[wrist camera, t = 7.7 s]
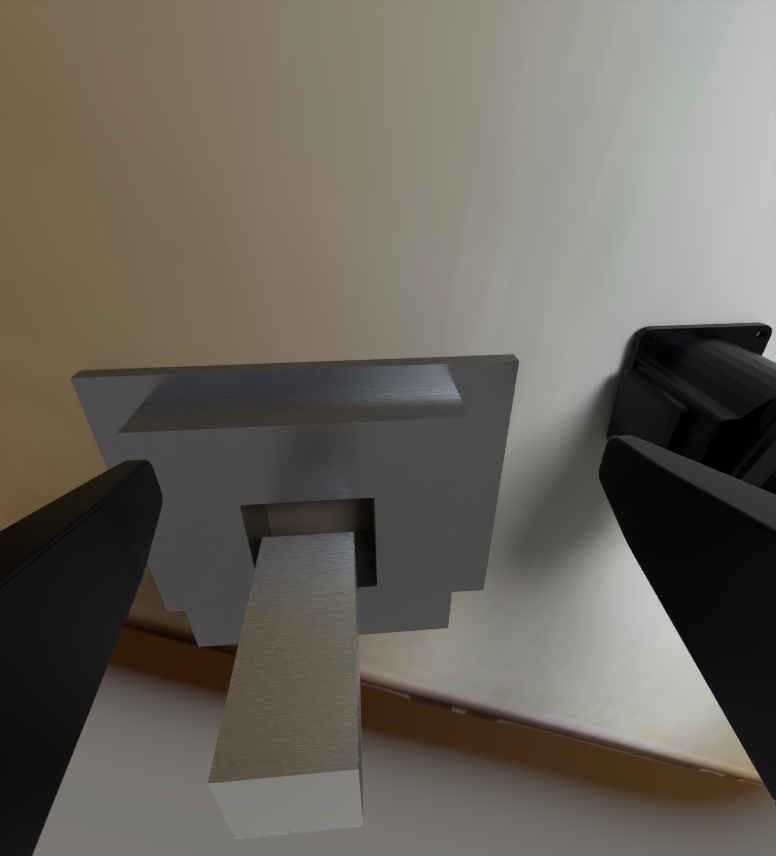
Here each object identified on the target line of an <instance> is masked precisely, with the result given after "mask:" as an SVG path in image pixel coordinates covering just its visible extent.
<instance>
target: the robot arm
mask: <svg viewBox="0 0 776 856" xmlns="http://www.w3.org/2000/svg"><path fill="white" fill-rule="evenodd" d="M759 332H760V333H759ZM758 333H759V334H758ZM757 334H758V335H757ZM771 334H772V328H771V327H770V326H768V325H766V324H763V323H733V324H703V325H674V326H648V327H644V328H642V329H641V330H640V331H639V332H638V333H637V335H636V337H635V340H634V344H633V347H632V350H631V354H630V357H629V361H628V364H627V368H626V371H625V372H624V374H623V377H622V380H621V384H620V387H619V391H618V394H617V398H616V401H615V404H614V408H613V411H612V419H611V422H610V425H609V429H608V432H607V439H608V442H607V444H606V448H605V451H604V454H603V458H602V461H601V464H600V468H599V479H600V482H601V484H602V487H603V489H604V491H605V494H606V496H607V498H608V501H609V503H610V505H611V508H612V510H613V512H614V514H615V517H616V519H617V521H618V524H619V526H620V528H621V531H622V533H623V535H624V537H625V539H626V541H627V543H628V545H629V547H630V549H631V551H632V553H633V555H634V556H635V558H636V560H637V562H638V564H639V565H640V567H641V569H642V571H643V572H644V574H645V576H646V578H647V579H648V581H649V583H650V585H651V586H652V588H653V590H654V592H655V593H656V595H657V597H658V599H659V600H660V602H661V604H662V606H663V607H664V609H665V611H666V613H667V614H668V616H669V618H670V620H671V621H672V623H673V625H674V627H675V628H676V630H677V632H678V634H679V635H680V637H681V639H682V641H683V642H684V644H685V646H686V648H687V649H688V651H689V653H690V655H691V656H692V658H693V660H694V662H695V663H696V665H697V667H698V669H699V670H700V672H701V674H702V676H703V678H704V679H705V681H706V683H707V685H708V686H709V688H710V690H711V692H712V693H713V695H714V697H715V699H716V700H717V702H718V704H719V706H720V707H721V709H722V711H723V713H724V714H725V716H726V718H727V720H728V721H729V723H730V725H731V727H732V728H733V730H734V732H735V734H736V735H737V737H738V739H739V741H740V742H741V744H742V746H743V748H744V749H745V751H746V753H747V755H748V756H749V758H750V760H751V762H752V763H753V765H754V767H755V769H756V770H757V772H758V774H759V776H760V777H761V779H762V781H763V783H764V784H765V786H766V788H767V790H768V792H769V793H770V795H771V797H772V798H773V799H774V800H776V363H775V362H773V361H771V360H769V359H767V358H765V357H763V356H762V354H763V352H764V350H765V348H766V345H767V343H768V341H769V339H770V337H771ZM649 335H651V337H650V339H649V340H647V341H645V339H646V337H647V336H649ZM756 335H757V336H756ZM619 434H620V435H619ZM617 435H619V436H617ZM162 504H163V496H162V491H161V489H160V486H159V483H158V480H157V477H156V474H155V471H154V468H153V466H152V464H151V463H150V462H149V461H148V460H145V459H143V460H126V461H123V462H121V463H119V464H118V465H116V466H114V467H112V468H111V469H109V470H107V471H105V472H104V473H102V474H100V475H98V476H97V477H95V478H93V479H91V480H90V481H88V482H86V483H84V484H83V485H81V486H79V487H77V488H76V489H74V490H72V491H70V492H68V493H67V494H65V495H63V496H61V497H60V498H58V499H56V500H54V501H53V502H51V503H49V504H47V505H46V506H44V507H42V508H40V509H39V510H37V511H35V512H33V513H32V514H30V515H28V516H26V517H25V518H23V519H21V520H19V521H18V522H16V523H14V524H12V525H10V526H9V527H7V528H5V529H3V530H2V531H0V856H32V855H33V853H34V850H35V847H36V845H37V843H38V840H39V837H40V835H41V832H42V830H43V827H44V825H45V822H46V820H47V817H48V815H49V812H50V809H51V807H52V805H53V802H54V800H55V797H56V795H57V792H58V790H59V787H60V785H61V782H62V780H63V777H64V775H65V772H66V770H67V767H68V765H69V762H70V759H71V757H72V754H73V752H74V749H75V747H76V744H77V742H78V739H79V737H80V734H81V732H82V729H83V727H84V724H85V722H86V719H87V717H88V714H89V712H90V709H91V707H92V704H93V701H94V699H95V697H96V694H97V692H98V689H99V687H100V684H101V682H102V679H103V676H104V674H105V671H106V669H107V666H108V664H109V661H110V659H111V656H112V654H113V651H114V649H115V646H116V644H117V641H118V639H119V636H120V634H121V631H122V629H123V626H124V624H125V621H126V619H127V616H128V614H129V611H130V609H131V606H132V604H133V601H134V598H135V596H136V593H137V591H138V588H139V586H140V583H141V580H142V578H143V575H144V571H145V568H146V565H147V561H148V557H149V554H150V550H151V546H152V542H153V539H154V535H155V531H156V527H157V524H158V520H159V516H160V512H161V508H162ZM775 804H776V802H775Z"/></svg>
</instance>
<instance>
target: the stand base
mask: <svg viewBox="0 0 776 856" xmlns="http://www.w3.org/2000/svg"><path fill="white" fill-rule="evenodd" d="M518 364H519V360H518V359H517V358H516V357H515V356H514V355H487V356H460V357H434V358H407V359H380V360H353V361H326V362H300V363H273V364H246V365H219V366H192V367H165V368H139V369H112V370H85V371H79V372H78V373H76V374H75V375H74V376H73V377H71V381H72V383H73V385H74V388H75V390H76V393H77V395H78V397H79V400H80V402H81V405H82V407H83V410H84V412H85V414H86V417H87V419H88V422H89V424H90V426H91V429H92V431H93V434H94V436H95V439H96V441H97V443H98V446H99V448H100V451H101V453H102V455H103V458H104V460H105V463H106V465H107V468H108V470H109V469H111V468H112V467H114V466H116V465H118V464H119V463H121V462H123V461H126V460H143V459H145V460H148V461H149V462H150V463H151V464H152V466H153V468H154V471H155V474H156V477H157V480H158V483H159V486H160V489H161V491H162V496H163V504H162V508H161V512H160V516H159V520H158V524H157V527H156V531H155V535H154V539H153V542H152V546H151V550H150V554H149V557H148V561H147V564H148V567H149V569H150V571H151V574H152V576H153V579H154V581H155V583H156V586H157V588H158V591H159V593H160V596H161V598H162V600H163V603H164V605H165V608H166V610H167V612H176V611H185V612H186V615H187V618H188V620H189V623H190V626H191V628H192V631H193V633H194V636H195V639H196V641H197V644H198V647H204V646H217V645H230V644H239V640H240V636H241V631H242V627H243V622H244V618H245V613H246V608H247V604H248V599H249V595H250V590H251V586H252V581H253V577H254V572H255V568H256V563H257V558H258V554H259V549H260V545H261V540H262V537H271V532H270V527H269V522H268V517H267V511H266V506H265V504H271V503H288V502H306V501H323V500H341V499H359V498H372V507H373V531H371V532H354V543H355V558H356V574H357V590H358V626H359V635H361V634H374V633H387V632H401V631H414V630H427V629H440V628H448V623H449V614H450V604H451V594H452V592H458V591H472V590H483V587H484V581H485V575H486V568H487V562H488V556H489V549H490V543H491V536H492V530H493V524H494V517H495V511H496V505H497V498H498V492H499V485H500V479H501V473H502V466H503V460H504V454H505V447H506V441H507V434H508V428H509V422H510V415H511V409H512V402H513V396H514V390H515V383H516V377H517V371H518Z"/></svg>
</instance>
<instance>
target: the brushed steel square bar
mask: <svg viewBox="0 0 776 856" xmlns="http://www.w3.org/2000/svg"><path fill="white" fill-rule="evenodd" d="M360 706H361V705H360V665H359V626H358V590H357V574H356V558H355V543H354V532H343V533H327V534H310V535H294V536H278V537H262V540H261V545H260V549H259V554H258V558H257V563H256V568H255V572H254V577H253V581H252V586H251V590H250V595H249V599H248V604H247V608H246V613H245V618H244V622H243V627H242V631H241V636H240V640H239V645H238V649H237V654H236V659H235V663H234V668H233V672H232V677H231V682H230V686H229V690H228V695H227V700H226V704H225V709H224V713H223V718H222V722H221V727H220V732H219V736H218V741H217V745H216V750H215V755H214V759H213V763H212V768H211V772H210V777H209V781H208V785H209V786H210V788H211V790H212V793H213V795H214V797H215V799H216V801H217V803H218V805H219V807H220V809H221V811H222V813H223V815H224V817H225V819H226V821H227V823H228V825H229V827H230V829H231V831H232V833H233V835H234V837H235V839H245V838H256V837H265V836H275V835H285V834H295V833H303V832H314V831H324V830H333V829H343V828H353V827H362V826H364V824H363V784H362V747H361V746H362V744H361V707H360Z"/></svg>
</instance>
